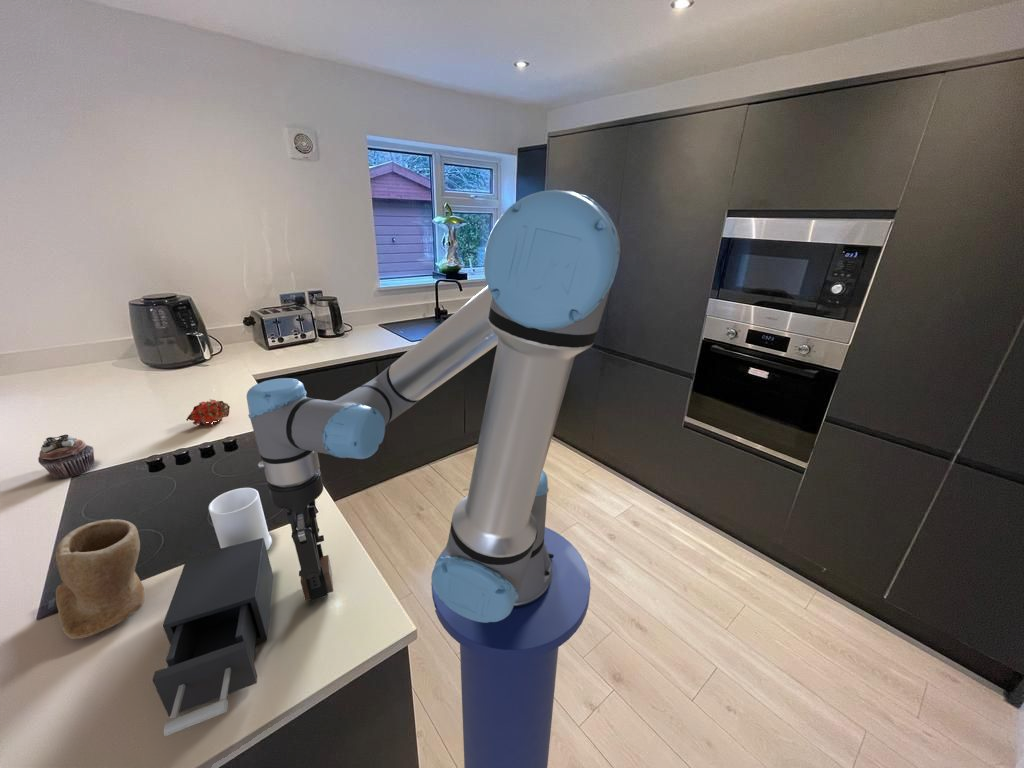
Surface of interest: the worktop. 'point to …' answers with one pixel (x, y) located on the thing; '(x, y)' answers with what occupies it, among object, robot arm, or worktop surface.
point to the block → (327, 576)
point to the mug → (239, 518)
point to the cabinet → (223, 586)
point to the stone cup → (98, 577)
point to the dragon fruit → (209, 412)
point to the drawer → (207, 665)
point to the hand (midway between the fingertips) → (318, 585)
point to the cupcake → (66, 456)
